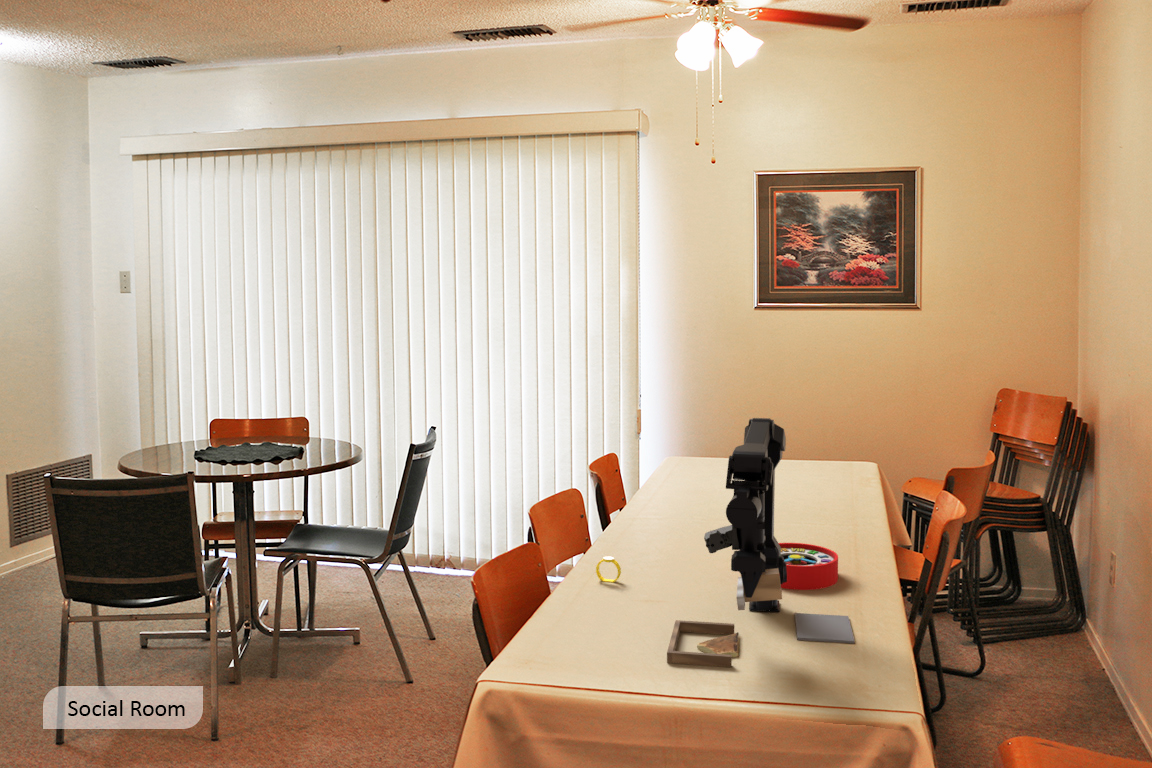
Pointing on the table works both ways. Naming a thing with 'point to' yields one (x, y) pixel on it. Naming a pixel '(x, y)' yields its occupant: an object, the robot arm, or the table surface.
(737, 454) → the robot arm
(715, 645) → the shard
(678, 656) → the bar
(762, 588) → the wood and metal bracket
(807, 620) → the rubber mat
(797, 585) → the toy clock
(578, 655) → the table surface
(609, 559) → the watch
